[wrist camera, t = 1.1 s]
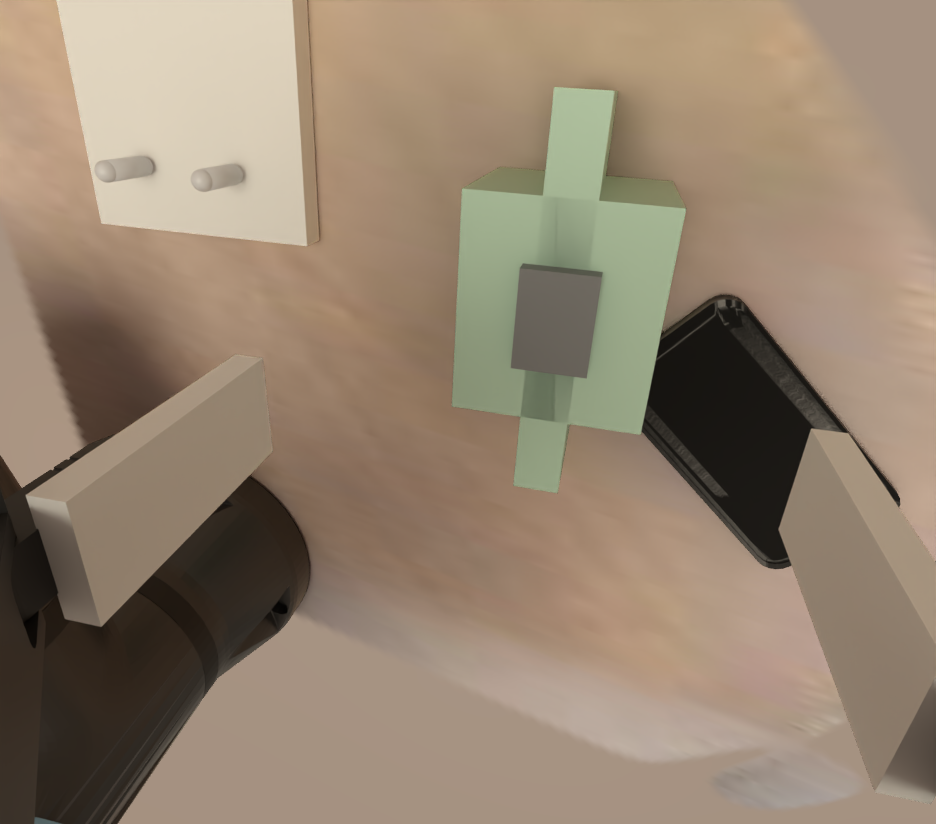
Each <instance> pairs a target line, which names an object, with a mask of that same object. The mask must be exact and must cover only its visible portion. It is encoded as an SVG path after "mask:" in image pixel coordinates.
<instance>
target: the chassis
mask: <svg viewBox="0 0 936 824" xmlns="http://www.w3.org/2000/svg"><path fill="white" fill-rule="evenodd" d="M56 1H57V6H58V11H59V16H60V21H61V26H62V31H63V36H64V40H65V45H66V50H67V55H68V60H69V65H70V70H71V75H72V80H73V85H74V90H75V95H76V100H77V105H78V110H79V115H80V120H81V125H82V130H83V135H84V140H85V145H86V150H87V155H88V160H89V165H90V169H91V174H92V179H93V184H94V189H95V194H96V199H97V204H98V209H99V214H100V219H101V224H109V225H118V226H128V227H137V228H146V229H155V230H164V231H173V232H182V233H191V234H200V235H209V236H218V237H227V238H237V239H246V240H255V241H264V242H273V243H282V244H291V245H300V246H309V245H311V244H313V243H315V242H317V241H319V223H318V203H317V183H316V164H315V144H314V124H313V105H312V85H311V65H310V46H309V26H308V7H307V0H56Z"/></svg>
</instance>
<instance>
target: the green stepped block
mask: <svg viewBox="0 0 936 824" xmlns="http://www.w3.org/2000/svg"><path fill="white" fill-rule="evenodd" d="M617 95H618V91H612V90H595V89H578V88H562V87H554V94H553V103H552V113H551V123H550V133H549V142H548V152H547V162H546V171H544V170H532V169H520V168H507V167H499V168H497V169H495V170H493V171H492V172H490V173H488V174H487V175H485V176H483V177H481V178H480V179H478V180H476V181H474V182H473V183H471V184H469V185H467V186H466V187H464V188H462V200H461V221H460V242H459V263H458V285H457V306H456V327H455V348H454V369H453V391H452V407H458V408H464V409H471V410H478V411H484V412H491V413H498V414H504V415H511V416H518V417H520V425H519V435H518V445H517V454H516V464H515V474H514V484H513V486H517V487H523V488H529V489H535V490H541V491H547V492H553V493H558V489H559V483H560V478H561V472H562V466H563V461H564V455H565V450H566V444H567V438H568V433H569V427H570V424H571V425H578V426H585V427H591V428H598V429H605V430H611V431H618V432H625V433H631V434H638V435H641V430H642V425H643V420H644V416H645V411H646V406H647V401H648V396H649V391H650V386H651V381H652V376H653V371H654V366H655V361H656V356H657V351H658V346H659V341H660V336H661V331H662V326H663V321H664V317H665V312H666V307H667V302H668V297H669V292H670V287H671V282H672V277H673V272H674V267H675V262H676V257H677V252H678V247H679V242H680V237H681V232H682V227H683V222H684V218H685V213H686V207H685V205H684V203H683V201H682V199H681V197H680V195H679V193H678V191H677V189H676V187H675V185H674V183H673V181H665V180H653V179H641V178H629V177H616V176H606V172H607V165H608V158H609V151H610V144H611V137H612V130H613V123H614V116H615V109H616V102H617Z"/></svg>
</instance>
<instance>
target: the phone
mask: <svg viewBox="0 0 936 824" xmlns="http://www.w3.org/2000/svg"><path fill="white" fill-rule="evenodd" d="M811 429H819V430H827V431H835V432H842V433H849V431H848V430H847V429H846V428H845V427H844V425H843V424H842V423H841V422H840V420H839V419H838V418H837V417H836V415H835V414H834V413H833V412H832V411H831V409H830V408H829V407H828V406H827V404H826V403H825V402H824V401H823V399H822V398H821V397H820V396H819V394H818V393H817V392H816V391H815V390H814V388H813V387H812V386H811V385H810V383H809V382H808V381H807V380H806V378H805V377H804V376H803V375H802V374H801V372H800V371H799V370H798V369H797V367H796V366H795V365H794V364H793V362H792V361H791V360H790V359H789V358H788V356H787V355H786V354H785V353H784V351H783V350H782V349H781V348H780V346H779V345H778V344H777V343H776V341H775V340H774V339H773V338H772V337H771V335H770V334H769V333H768V332H767V330H766V329H765V328H764V327H763V325H762V324H761V323H760V322H759V321H758V319H757V318H756V317H755V316H754V314H753V313H752V312H751V311H750V309H749V308H748V307H747V306H746V305H745V303H744V302H743V301H741V300H740V299H739V298H737V297H735V296H732V295H719V296H715V297H713V298H711V299H710V300H708V301H706V302H705V303H704V304H702V305H701V306H700V307H698V308H697V309H695V310H694V311H693V312H691V313H690V314H689V315H687V316H686V317H685V318H683V319H682V320H680V321H679V322H678V323H676V324H675V325H674V326H672V327H671V328H669V329H668V330H667V331H665V332H664V333H663V334H661V336H660V341H659V346H658V351H657V356H656V361H655V366H654V371H653V376H652V381H651V386H650V391H649V396H648V401H647V406H646V411H645V416H644V420H643V425H642V430H641V431H642V432H643V433H644V434H645V436H646V437H647V438H648V439H649V440H650V441H651V442H652V443H653V445H654V446H655V447H656V448H657V449H658V450H659V451H660V452H661V453H662V455H663V456H664V457H665V458H666V459H667V460H668V461H669V462H670V464H671V465H672V466H673V467H674V468H675V469H676V470H677V471H678V472H679V474H680V475H681V476H682V477H683V478H684V479H685V480H686V481H687V483H688V484H689V485H690V486H691V487H692V488H693V489H694V490H695V491H696V493H697V494H698V495H699V496H700V497H701V498H702V499H703V500H704V502H705V503H706V504H707V505H708V506H709V507H710V508H711V509H712V511H713V512H714V513H715V514H716V515H717V516H718V517H719V518H720V519H721V521H722V522H723V523H724V524H725V525H726V526H727V527H728V528H729V530H730V531H731V532H732V533H733V534H734V535H735V536H736V537H737V538H738V540H739V541H740V542H741V543H742V544H743V545H744V546H745V547H746V549H747V550H748V551H749V552H750V553H751V554H752V555H753V556H754V558H755V559H756V560H757V561H758V562H759V563H760V564H762V565H763V566H765V567H768V568H772V569H783V568H786V567H789V566H791V562H790V559H789V557H788V554H787V551H786V548H785V546H784V543H783V540H782V538H781V535H780V532H779V526H780V523H781V520H782V517H783V514H784V511H785V508H786V505H787V502H788V499H789V496H790V493H791V489H792V486H793V483H794V480H795V477H796V474H797V471H798V468H799V465H800V462H801V459H802V456H803V452H804V449H805V446H806V443H807V440H808V437H809V434H810V431H811ZM849 435H850V436H851V438H852V439H853V441H854V442H855V444H856V445H857V447H858V448H859V449H860V451H861V452H862V454H863V455H864V457H865V458H866V460H867V461H868V463H869V464H870V466H871V467H872V469H873V470H874V472H875V473H876V475H877V476H878V477H879V479H880V480H881V482H882V483H883V485H884V486H885V488H886V489H887V491H888V492H889V494H890V495H891V497H892V498H893V500H894V501H895V503H896V504H897V505H898V507H899V506H900V498H899V496H898V494H897V492H896V490H895V489H894V487H893V486H892V484H891V483H890V482H889V481H888V480H887V478H886V477H885V476H884V475H883V473H882V472H881V471H880V470H879V468H878V467H877V466H876V465H875V464H874V462H873V461H872V460H871V459H870V457H869V456H868V455H867V454H866V452H865V451H864V450H863V449H862V447H861V446H860V445H859V444H858V443H857V441H856V440H855V439H854V438H853V436H852V435H851V434H850V433H849Z"/></svg>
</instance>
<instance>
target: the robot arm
mask: <svg viewBox="0 0 936 824" xmlns="http://www.w3.org/2000/svg"><path fill="white" fill-rule="evenodd" d="M272 452H273V447H272V438H271V428H270V419H269V410H268V400H267V391H266V381H265V372H264V362H263V358H260V357H252V356H244V355H237V354H235V355H234V356H232V357H231V358H229V359H228V360H226V361H225V362H223V363H222V364H220V365H219V366H217V367H216V368H214V369H213V370H211V371H210V372H208V373H207V374H205V375H204V376H203V377H201V378H200V379H198V380H197V381H195V382H194V383H192V384H191V385H189V386H188V387H186V388H185V389H183V390H182V391H180V392H179V393H177V394H176V395H174V396H173V397H171V398H170V399H168V400H167V401H165V402H164V403H162V404H161V405H159V406H158V407H156V408H155V409H153V410H152V411H150V412H149V413H147V414H146V415H144V416H143V417H141V418H140V419H138V420H137V421H135V422H134V423H132V424H131V425H129V426H128V427H126V428H125V429H123V430H122V431H121V432H119V433H118V434H114V435H112V436H109V437H107V438H104V439H101V440H99V441H96V442H94V443H91V444H89V445H87V446H86V447H84V448H83V449H81V450H80V451H78V452H77V453H75V454H74V455H72V456H71V457H70V459H69V460H64V461H63V462H61V463H60V464H58V465H57V466H55V467H54V470H49V471H48V472H46V473H45V474H43V475H42V476H40V477H38V478H37V479H35V480H34V481H33V482H31V483H29V484H28V485H26V486H25V487H23V488H21V486H20V485H19V483H18V482H17V480H16V479H15V477H14V476H13V474H12V472H11V471H10V470H9V468H8V466H7V465H6V463H5V462H4V460H3V459H2V457H1V456H0V824H118V822H119V821H120V819H121V818H122V816H123V815H124V813H125V812H126V810H127V809H128V807H129V806H130V805H131V803H132V802H133V800H134V799H135V797H136V796H137V794H138V793H139V791H140V790H141V789H142V787H143V786H144V784H145V783H146V781H147V780H148V778H149V777H150V775H151V774H152V773H153V771H154V770H155V768H156V767H157V765H158V764H159V762H160V761H161V759H162V758H163V756H164V755H165V754H166V752H167V751H168V749H169V748H170V746H171V745H172V743H173V742H174V740H175V739H176V737H177V736H178V734H179V733H180V731H181V730H182V729H183V727H184V726H185V724H186V723H187V721H188V720H189V718H190V717H191V715H192V714H193V712H194V711H195V710H196V708H197V707H198V705H199V704H200V702H201V700H202V699H203V698H204V696H205V695H206V693H207V692H208V690H209V689H210V688H211V686H212V685H213V684H214V682H215V681H216V680H217V678H218V677H220V676H221V675H222V674H224V673H225V672H226V671H228V670H229V669H230V668H232V667H233V666H234V665H236V664H237V663H238V662H240V661H241V660H242V659H244V658H245V657H246V656H247V655H249V654H250V653H252V652H253V651H254V650H256V649H257V648H259V647H260V646H261V645H262V644H264V643H265V642H267V641H268V640H269V639H271V638H272V637H273V636H274V635H276V634H277V633H278V632H279V631H280V630H281V629H282V628H283V627H284V626H285V625H286V623H287V622H288V621H289V619H290V618H291V616H292V615H293V613H294V612H295V610H296V609H297V607H298V605H299V604H300V602H301V601H302V599H303V597H304V595H305V593H306V590H307V587H308V582H309V560H308V555H307V551H306V547H305V544H304V542H303V539H302V537H301V535H300V533H299V531H298V529H297V527H296V525H295V524H294V522H293V520H292V519H291V517H290V516H289V515H288V513H287V512H286V511H285V509H284V508H283V507H282V506H281V505H280V504H279V502H278V501H277V500H276V499H275V498H274V497H273V496H272V495H271V494H270V493H269V492H267V491H266V490H265V489H264V488H263V487H262V486H260V485H259V484H258V483H256V482H255V481H254V480H252V479H251V478H249V477H248V476H249V475H250V474H251V473H252V472H253V471H254V470H255V469H256V468H257V467H258V466H259V465H260V464H261V463H262V462H263V461H264V460H265V459H266V458H267V457H268V456H269V455H270V454H271V453H272ZM779 532H780V535H781V538H782V540H783V543H784V546H785V548H786V551H787V554H788V557H789V559H790V562H791V565H792V568H793V570H794V573H795V576H796V578H797V581H798V584H799V587H800V589H801V592H802V595H803V598H804V600H805V603H806V606H807V609H808V611H809V614H810V617H811V619H812V622H813V625H814V628H815V630H816V633H817V636H818V639H819V641H820V644H821V647H822V649H823V652H824V655H825V658H826V660H827V663H828V666H829V669H830V671H831V674H832V677H833V680H834V682H835V685H836V688H837V690H838V693H839V696H840V699H841V701H842V704H843V707H844V710H845V712H846V715H847V718H848V720H849V723H850V726H851V728H852V731H853V734H854V737H855V740H856V742H857V745H858V748H859V750H860V753H861V756H862V759H863V761H864V764H865V766H866V770H867V772H868V774H869V778H870V781H871V783H872V786H873V789H874V791H875V792H877V793H881V794H886V795H890V796H895V797H900V798H904V799H909V800H914V801H918V802H923V803H928V804H931V803H932V801H933V800H934V798H935V796H936V561H935V560H934V559H933V557H932V556H931V554H930V553H929V551H928V550H927V548H926V547H925V545H924V544H923V542H922V541H921V539H920V538H919V536H918V535H917V533H916V532H915V531H914V529H913V528H912V526H911V525H910V523H909V522H908V520H907V519H906V517H905V516H904V514H903V513H902V511H901V510H900V508H899V507H898V505H897V504H896V503H895V501H894V500H893V498H892V497H891V495H890V494H889V492H888V491H887V489H886V488H885V486H884V485H883V483H882V482H881V480H880V479H879V477H878V476H877V475H876V473H875V472H874V470H873V469H872V467H871V466H870V464H869V463H868V461H867V460H866V458H865V457H864V455H863V454H862V452H861V451H860V449H859V448H858V447H857V445H856V444H855V442H854V441H853V439H852V438H851V436H850V435H849V433H842V432H835V431H827V430H819V429H811V431H810V434H809V437H808V440H807V443H806V446H805V449H804V452H803V456H802V459H801V462H800V465H799V468H798V471H797V474H796V477H795V480H794V483H793V486H792V489H791V493H790V496H789V499H788V502H787V505H786V508H785V511H784V514H783V517H782V520H781V523H780V526H779Z"/></svg>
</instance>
